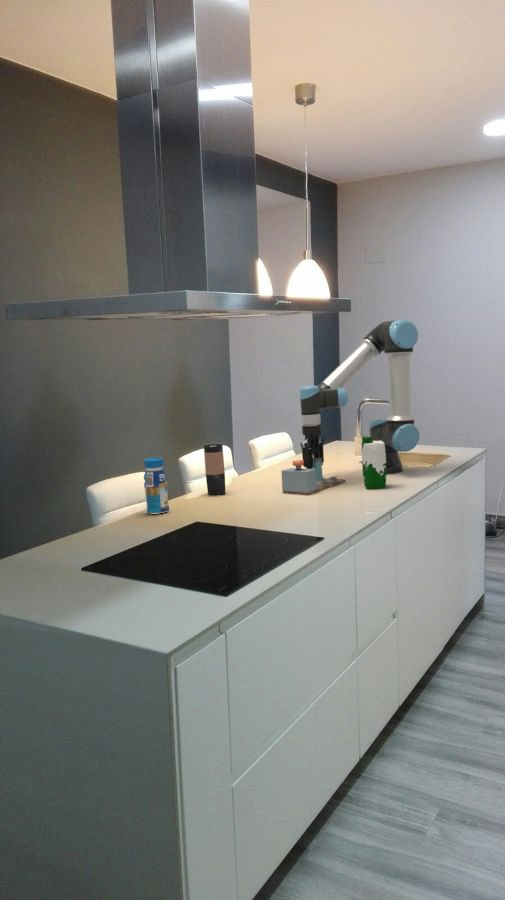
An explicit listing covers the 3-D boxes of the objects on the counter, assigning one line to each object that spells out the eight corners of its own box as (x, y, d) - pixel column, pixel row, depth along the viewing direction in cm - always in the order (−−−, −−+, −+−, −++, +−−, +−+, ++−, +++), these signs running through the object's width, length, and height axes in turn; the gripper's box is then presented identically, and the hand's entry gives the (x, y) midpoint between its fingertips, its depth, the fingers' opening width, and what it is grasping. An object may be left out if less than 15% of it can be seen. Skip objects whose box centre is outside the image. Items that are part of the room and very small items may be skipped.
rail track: (321, 480, 305) (320, 473, 305) (345, 481, 298) (345, 474, 297) (282, 493, 284) (282, 485, 283) (308, 495, 276) (307, 487, 276)
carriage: (312, 482, 294) (310, 457, 292) (323, 483, 290) (322, 457, 289) (306, 484, 290) (304, 458, 289) (317, 485, 287) (316, 459, 286)
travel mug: (227, 491, 294) (223, 443, 291) (224, 495, 286) (221, 446, 284) (208, 492, 295) (205, 444, 292) (205, 496, 287) (202, 447, 284)
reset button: (297, 469, 284) (296, 460, 284) (306, 470, 282) (305, 460, 281) (290, 471, 281) (290, 461, 280) (300, 471, 278) (299, 462, 278)
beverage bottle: (143, 512, 266) (138, 458, 263) (165, 508, 269) (161, 456, 266) (150, 516, 258) (145, 461, 255) (172, 512, 261) (168, 458, 259)
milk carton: (362, 486, 287) (359, 436, 284) (385, 484, 286) (382, 434, 284) (365, 490, 278) (362, 439, 275) (388, 488, 278) (386, 437, 275)
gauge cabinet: (292, 487, 288) (290, 467, 287) (317, 489, 281) (316, 469, 280) (282, 490, 283) (281, 470, 282) (308, 492, 276) (306, 472, 275)
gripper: (315, 422, 296) (318, 478, 299) (291, 427, 283) (295, 485, 286) (330, 422, 291) (334, 478, 295) (307, 427, 278) (310, 486, 281)
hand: (314, 482), depth 290 cm, fingers closed on carriage, 4 cm apart
